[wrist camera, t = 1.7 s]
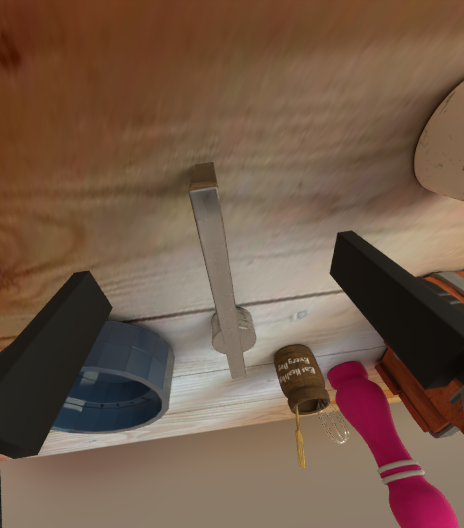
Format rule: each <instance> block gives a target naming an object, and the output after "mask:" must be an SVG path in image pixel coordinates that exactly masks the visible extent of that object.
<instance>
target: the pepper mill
mask: <svg viewBox="0 0 464 528" xmlns="http://www.w3.org/2000/svg"><path fill="white" fill-rule="evenodd" d="M328 380H329V382H330V384H331V386H332V387H333V388H334V389H336V390H337V392H336V404H337V405H338V407H339V409H340V411H341V413H342V414H343V415H344V417H345V418H346V419H347V420H348V421H349V422H350V424H351V425H352V426H353V427H354V428H355V429H356V430H357V431H358V432H359V434H360V435H361V436H362V437H363V439H364V440H365V442H366V443H367V444H368V446H369V448H370V449H371V451H372V453H373V455H374V457H375V460H376V462H377V464H378V467H379V468H378V470H377V472H378V473H379V474H380V476H381V478H382V479H383V480H382V482H383V484H385V485H388V487H389V504H390V508H391V510H392V512H393V514H394V516H395V518H396V520H397V522H398V523H399V525H400V526H401V528H459V527H458V521H457V518H456V515H455V513H454V511H453V509H452V507H451V506H450V504H449V502H448V501H447V499H446V498H445V496H444V495H443V494H442V493H441V492H440V491H439V490H438V489H437V488H435V487H434V486H432V485H431V484H430V483H428V482H427V481H426V480H425V479H424V476H425V472H424V471H423V470H421V468H420V466H419V463H418V461H416V460H413V459H412V458H411V456H410V455H409V453H408V452H407V450H406V449H405V447H404V446H403V444H402V442H401V440H400V438H399V436H398V434H397V432H396V429H395V427H394V423H393V420H392V416H391V411H390V407H389V403H388V401H387V398H386V396H385V394H384V392H383V391H382V389H381V388H380V386H379V385H377V384H376V383H374V382H372V381H370V380H368V373H367V371H366V370H365V368H364V367H363V365H362V364H360V363H358V362H347V363H343V364H340V365H338V366H336V367H334V368H333V369H332V370H330V371H329V373H328Z"/></svg>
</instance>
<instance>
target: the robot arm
mask: <svg viewBox="0 0 464 528" xmlns="http://www.w3.org/2000/svg"><path fill="white" fill-rule="evenodd" d="M330 275H331V276H332V277H333V278H334V280H335V281H336V282H337V283H338V285H339V286H340V287H341V288H342V289H343V291H344V292H345V293H346V294H347V296H348V297H349V298H350V299H351V300H352V302H353V303H354V304H355V305H356V307H357V308H358V309H359V310H360V311H361V313H362V314H363V315H364V316H365V318H366V319H367V320H368V321H369V322H370V324H371V325H372V326H373V327H374V329H375V330H376V331H377V332H378V333H379V335H380V336H381V337H382V338H383V340H384V341H385V342H386V343H387V344H388V346H389V347H390V348H391V349H392V351H393V352H394V353H395V354H396V355H397V357H398V358H399V359H400V360H401V361H402V363H403V364H404V365H405V366H406V368H407V369H408V370H409V371H410V372H411V374H412V375H413V376H414V377H415V379H416V380H417V381H418V382H419V383H420V385H421V386H422V387H423V388H424V390H428V389H434V388H440V387H446V386H448V385H449V384H450V383H451V381H452V380H453V379H454V378H455V377H456V378H457V379H458V380H459V381H460V382H461V383H462V384H463V386H462V387H461V388H460V389H459V390H458V391H457V392H456V393H455V394H454V395H453V396H452V397H451V398H450V402H449V403H450V404H452V405H455V404H456V403H457V402H458V401H459V400H460V399H462V406H461V407H460V408H462V409H463V412H464V303H461V301H460V300H459V299H457V298H456V297H454V296H453V295H450V294H449V292H447V291H446V290H444V289H443V288H441V287H440V286H439V285H437V284H435V283H433V282H431V281H429V280H426V279H424V278H422V277H414V276H413V275H412V274H410V273H409V272H407V271H406V270H405V269H403V268H402V267H401V266H399V265H398V264H397V263H395V262H394V261H393V260H391V259H390V258H388V257H387V256H386V255H384V254H383V253H382V252H380V251H379V250H378V249H376V248H375V247H374V246H372V245H371V244H369V243H368V242H367V241H365V240H364V239H363V238H361V237H360V236H359V235H357V234H356V233H355V232H353V231H352V230H351V231H345V232H338V233H337V238H336V243H335V248H334V254H333V259H332V264H331V269H330ZM112 308H113V307H112V306H111V304H110V303H109V301H108V299H107V298H106V296H105V295H104V293H103V292H102V290H101V288H100V287H99V285H98V284H97V282H96V280H95V279H94V277H93V276H92V274H91V273H90V271H83V272H76V273H74V274H73V275H72V276H71V277H70V278H69V279H68V281H67V282H66V283H65V284H64V285H63V286H62V287H61V288H60V290H59V291H58V292H57V293H56V294H55V295H54V296H53V297H52V299H51V300H50V301H49V302H48V303H47V304H46V305H45V306H44V308H43V309H42V310H41V311H40V312H39V313H38V314H37V315H36V317H35V318H34V319H33V320H32V321H31V322H30V323H29V325H28V326H27V327H26V328H25V329H24V330H23V331H22V332H21V334H20V335H19V336H18V337H17V338H16V339H15V340H14V341H13V342H12V343H11V344H10V345H9V346H7V347H6V348H5V349H4V350H2V351H1V352H0V454H3V455H5V456H8V457H10V458H13V459H17V458H23V457H29V456H35V455H38V453H39V451H40V449H41V447H42V445H43V443H44V441H45V439H46V437H47V435H48V433H49V431H50V430H51V428H52V426H53V424H54V422H55V420H56V418H57V416H58V414H59V412H60V410H61V408H62V406H63V404H64V402H65V400H66V398H67V396H68V394H69V392H70V390H71V388H72V386H73V384H74V382H75V381H76V379H77V377H78V375H79V373H80V371H81V369H82V367H83V365H84V363H85V361H86V359H87V357H88V355H89V353H90V351H91V349H92V347H93V345H94V343H95V341H96V339H97V337H98V335H99V333H100V332H101V330H102V328H103V326H104V324H105V322H106V320H107V318H108V316H109V314H110V312H111V310H112ZM0 479H1V478H0ZM1 515H2V513H1V480H0V528H2V516H1Z"/></svg>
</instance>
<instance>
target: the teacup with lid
mask: <svg viewBox="0 0 464 528" xmlns="http://www.w3.org/2000/svg"><path fill="white" fill-rule="evenodd" d="M414 169H415V174H416V177H417V179H418V181H419V182H420V184H421V185H422V186H423V187H424V188H426V189H428V190H430V191H433V192H436V193H439V194H442V195H445V196H449V197H452V198H455V199H458V200H461V201H464V81H463V82H462V83H461V84H460V85H458V86H457V87H456V88H455V89H454V90H453V91H452V92H451V93H450V94H449V95H448V96H447V97H446V98H445V100H444V101H443V102H442V103H441V104H440V106H439V107H438V108H437V109H436V111H435V112H434V114H433V115H432V116H431V118H430V120H429V121H428V123H427V125H426V126H425V128H424V130H423V132H422V135H421V137H420V139H419V142H418V145H417V148H416V153H415V159H414Z"/></svg>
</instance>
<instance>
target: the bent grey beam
mask: <svg viewBox="0 0 464 528" xmlns="http://www.w3.org/2000/svg"><path fill="white" fill-rule="evenodd" d="M189 196H190V200H191V204H192V209H193V213H194V217H195V222H196V226H197V230H198V234H199V239H200V243H201V247H202V252H203V256H204V260H205V265H206V269H207V273H208V277H209V282H210V286H211V290H212V295H213V299H214V303H215V308H216V312H217V313H216V314H215V315H214V316H213V318H212V345H213V347H214V349H215V350H216V351H218V352H220V353H223V354H226V355H227V359H228V363H229V368H230V372H231V376H232V379H234V378H240V377H246V371H245V365H244V358H243V352H245V351H247V350H249V349H251V348H252V347H253V346H254V344H255V342H256V334H255V330H254V326H253V321H252V317H251V314H250V313H249V312H248V311H247V310H245V309H243V308H240V307H236V305H235V298H234V291H233V285H232V278H231V272H230V265H229V258H228V252H227V245H226V238H225V232H224V225H223V218H222V212H221V205H220V198H219V192H218V186H217V180H216V174H215V169H214V163H213V162H210V163H204V164H197V165H195V167H194V171H193V175H192V180H191V184H190V189H189Z"/></svg>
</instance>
